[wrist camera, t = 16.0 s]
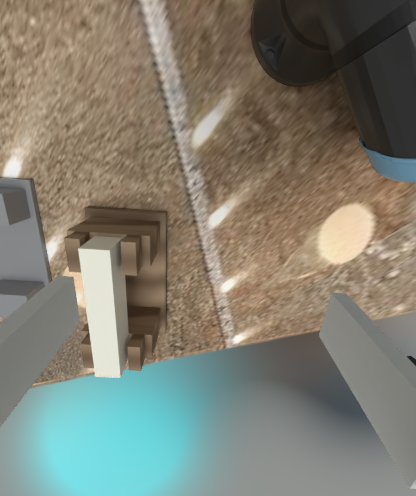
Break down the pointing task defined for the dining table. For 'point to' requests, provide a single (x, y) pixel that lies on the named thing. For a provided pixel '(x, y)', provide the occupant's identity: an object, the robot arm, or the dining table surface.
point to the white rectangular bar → (105, 304)
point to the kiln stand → (20, 245)
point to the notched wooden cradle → (130, 272)
